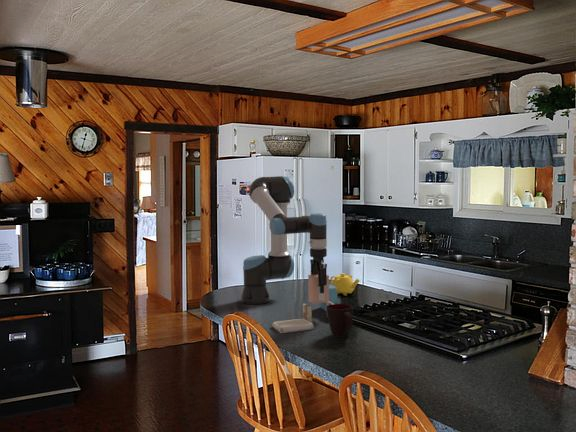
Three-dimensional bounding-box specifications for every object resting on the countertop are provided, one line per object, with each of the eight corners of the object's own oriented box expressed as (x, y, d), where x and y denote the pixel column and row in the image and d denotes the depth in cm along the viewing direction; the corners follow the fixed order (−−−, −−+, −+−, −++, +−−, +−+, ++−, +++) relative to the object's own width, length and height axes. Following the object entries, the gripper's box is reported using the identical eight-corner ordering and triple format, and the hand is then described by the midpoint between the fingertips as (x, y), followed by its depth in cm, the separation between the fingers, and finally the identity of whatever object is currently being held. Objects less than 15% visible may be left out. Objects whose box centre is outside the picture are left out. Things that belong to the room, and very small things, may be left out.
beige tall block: (308, 300, 261) (308, 275, 260) (324, 299, 264) (324, 273, 263) (312, 303, 256) (312, 277, 255) (329, 301, 259) (328, 275, 258)
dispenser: (302, 318, 262) (302, 303, 261) (328, 315, 266) (328, 301, 266) (309, 323, 254) (309, 307, 254) (336, 319, 259) (335, 304, 258)
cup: (345, 330, 242) (344, 302, 241) (361, 339, 229) (361, 310, 228) (323, 333, 238) (323, 305, 237) (339, 342, 225) (338, 312, 224)
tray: (272, 326, 250) (272, 322, 250) (304, 322, 255) (304, 318, 255) (280, 333, 240) (280, 328, 240) (313, 329, 245) (313, 324, 245)
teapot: (360, 295, 307) (360, 275, 306) (336, 297, 304) (335, 276, 303) (351, 290, 321) (351, 270, 320) (328, 291, 318) (327, 271, 317)
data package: (337, 312, 272) (337, 287, 271) (328, 313, 271) (328, 288, 270) (328, 306, 284) (328, 282, 283) (320, 307, 282) (319, 283, 281)
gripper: (303, 245, 265) (303, 295, 267) (318, 251, 248) (319, 304, 250) (317, 244, 267) (318, 293, 270) (334, 250, 251) (334, 302, 253)
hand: (318, 298), depth 260 cm, fingers closed on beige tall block, 5 cm apart
